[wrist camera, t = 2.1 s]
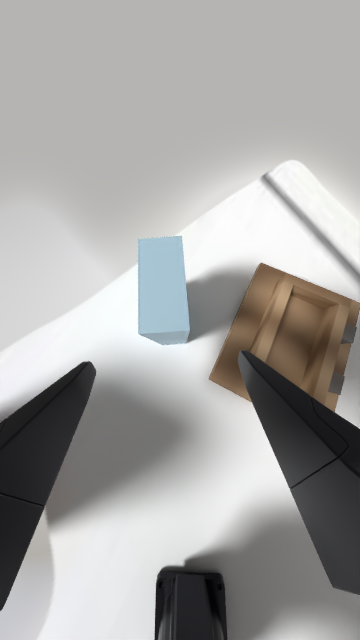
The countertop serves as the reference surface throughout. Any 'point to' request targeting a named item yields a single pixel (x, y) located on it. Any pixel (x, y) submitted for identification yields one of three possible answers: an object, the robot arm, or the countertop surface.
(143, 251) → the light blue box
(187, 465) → the countertop surface
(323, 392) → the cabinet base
